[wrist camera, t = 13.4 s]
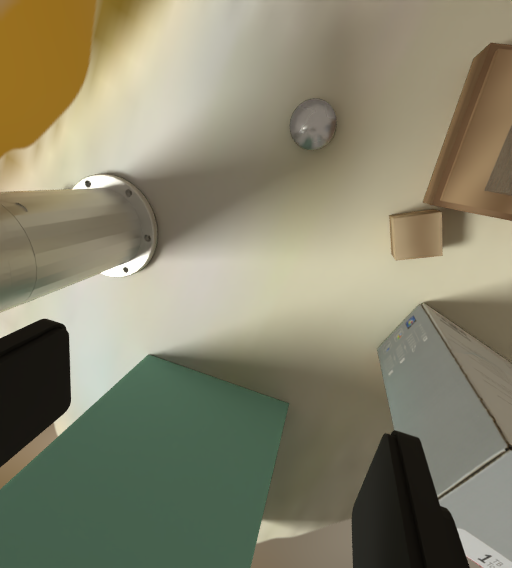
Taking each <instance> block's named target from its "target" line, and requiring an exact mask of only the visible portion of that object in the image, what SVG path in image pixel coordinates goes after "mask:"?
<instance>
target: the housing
mask: <svg viewBox="0 0 512 568" xmlns="http://www.w3.org/2000/svg"><path fill="white" fill-rule="evenodd" d="M484 191H489V192H494V193H499V194H505V195H510V196H512V125H511V128H510V130H509V132H508V135H507V137H506V140H505V142H504V144H503V147H502V149H501V152H500V154H499V156H498V159H497V161H496V164H495V166H494V168H493V171H492V173H491V176H490V178H489V180H488V183H487V185H486V187H485V190H484Z"/></svg>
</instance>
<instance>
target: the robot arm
mask: <svg viewBox="0 0 512 568" xmlns="http://www.w3.org/2000/svg"><path fill="white" fill-rule="evenodd" d="M150 237H151V238H150ZM157 237H158V235H157V224H156V220H155V216H154V213H153V211H152V208H151V206H150V204H149V203H148V201H147V199H146V198H145V197H144V195H143V194H142V193H141V192H140V191H139V189H137V188H136V187H135V186H134V185H133V184H131V183H130V182H128V181H126V180H125V179H123V178H121V177H118V176H114V175H107V174H95V175H92V176H88V177H86V178H84V179H82V180H80V181H79V182H78V183H77V184H76V185H75V186H74V187H73V189H63V190H38V191H14V192H0V313H1V312H3V311H6V310H9V309H11V308H14V307H16V306H18V305H21V304H24V303H27V302H29V301H32V300H34V299H37V298H39V297H42V296H44V295H47V294H49V293H52V292H54V291H57V290H60V289H62V288H65V287H67V286H70V285H72V284H75V283H77V282H80V281H82V280H85V279H87V278H90V277H92V276H95V275H97V274H100V273H102V274H104V275H107V276H112V277H124V276H128V275H132V274H134V273H136V272H138V271H140V270H141V269H142V268H144V267H145V266H146V265H147V264H148V263H149V261H150V260H151V258H152V256H153V254H154V252H155V248H156V245H157ZM70 403H71V386H70V353H69V333H68V332H67V331H66V327H65V326H64V325H63V324H61V323H58V322H55V321H52V320H48V319H41V320H39V321H36V322H34V323H32V324H30V325H28V326H26V327H24V328H22V329H19V330H17V331H15V332H13V333H11V334H9V335H7V336H4V337H2V338H0V467H1V466H2V465H4V464H5V463H6V462H7V461H8V460H10V459H11V458H12V457H13V456H14V455H15V454H17V453H18V452H19V451H20V450H21V449H22V448H24V447H25V446H26V445H27V444H28V443H30V442H31V441H32V440H33V439H34V438H35V437H37V436H38V435H39V434H40V433H41V432H43V431H44V430H45V429H46V428H47V427H49V426H50V425H51V424H52V423H53V422H54V421H56V420H57V419H58V418H59V417H60V416H62V415H63V414H64V413H65V412H66V411H67V409H68V408H69V406H70ZM352 544H353V545H352V548H353V568H470V567H469V564H468V561H467V558H466V555H465V552H464V549H463V546H462V543H461V540H460V537H459V534H458V531H457V528H456V524H455V521H454V519H453V517H452V514H451V513H450V511H449V510H448V509H447V508H445V507H442V506H440V504H439V500H438V497H437V494H436V490H435V487H434V484H433V480H432V477H431V474H430V470H429V467H428V463H427V460H426V457H425V453H424V450H423V447H422V443H421V441H420V439H419V438H418V437H415V436H412V435H409V434H406V433H403V432H400V431H397V430H394V431H393V432H392V433H391V435H389V434H386V433H385V434H384V435H383V437H382V439H381V441H380V444H379V446H378V449H377V451H376V453H375V456H374V458H373V461H372V463H371V465H370V468H369V470H368V473H367V475H366V477H365V480H364V482H363V485H362V487H361V489H360V492H359V494H358V497H357V499H356V501H355V504H354V507H353V512H352Z"/></svg>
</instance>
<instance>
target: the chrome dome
mask: <svg viewBox="0 0 512 568" xmlns="http://www.w3.org/2000/svg"><path fill="white" fill-rule="evenodd" d="M336 125H337V121H336V115H335V112H334V110H333V108H332V107H331V105H330V104H328V103H327V102H326V101H324V100H321V99H309V100H306V101H304V102H303V103H301V104H300V105H299V106H298V107H297V108H296V109H295V111H294V112H293V114H292V117H291V121H290V132H291V135H292V138H293V139H294V141H295V142H296V143H297V144H298V145H299V146H300V147H302V148H304V149H307V150H317V149H320V148H322V147H324V146H325V145H327V144H328V143H329V142H330V141H331V139H332V138H333V136H334V134H335V131H336Z"/></svg>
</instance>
